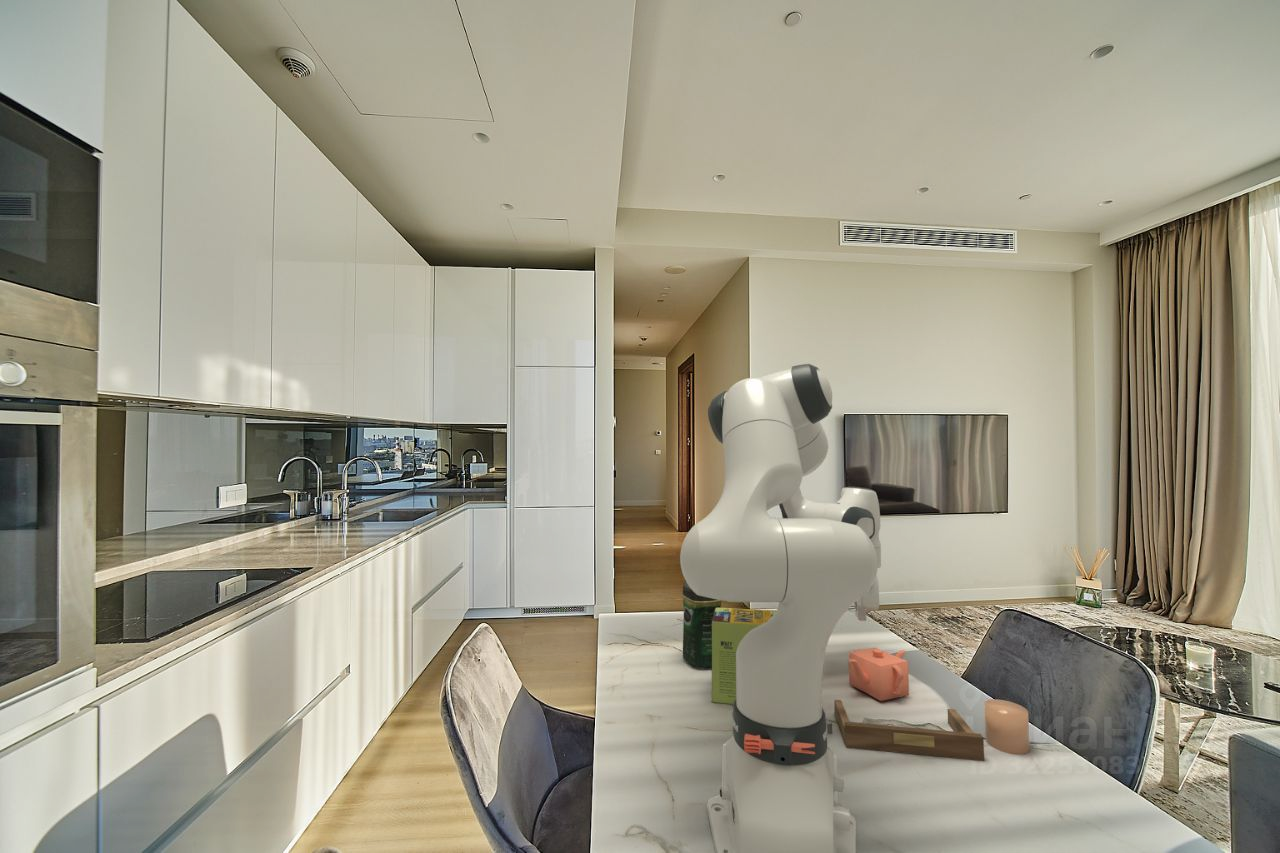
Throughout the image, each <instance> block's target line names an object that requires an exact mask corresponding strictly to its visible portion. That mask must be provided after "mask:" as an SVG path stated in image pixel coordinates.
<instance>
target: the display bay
mask: <svg viewBox="0 0 1280 853" xmlns="http://www.w3.org/2000/svg"><path fill="white" fill-rule="evenodd" d="M833 700H834V701H833V702H834V703H833V704H834V706H833V707H834V712H833V713H834V716H835V719H836V722H837V725H838V728H839V730H840V733H841V735H842V739H843V741H844V744H845V747H846V748H850V749H862V750H870V751H880V752H881V751H882V752H890V753H901V754H911V755H922V756H931V757H932V756H933V757H941V758H952V759H953V758H954V759H962V760H975V761H983V762H984V761H985V746H984V745H985V744H984V743H985V742H984V741H985V740H984V737H983V735H982V734H981V733H976V732H974V731H973V730H972V728H971V727H970V726H969V725H968V723H967V722H966V721H965V719H964V718H963V717H962V716H961V715H960V714H959V713H958V711H957V710H956V709H953V708H947V724H948V725H949V727H950V728H951V729H952V730H944V729H943V730H939V729H930V728H920V727H907V726H897V725H886V724H874V723H864V722H863V723H862V722H852V721H850V719H849V717H848V715H847V711H846V710H845V706H844V704H843V701H842V700H841V699H833Z"/></svg>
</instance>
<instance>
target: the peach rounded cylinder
mask: <svg viewBox="0 0 1280 853" xmlns="http://www.w3.org/2000/svg"><path fill="white" fill-rule="evenodd" d="M983 704H984V729H985V730H984V731H985V742H986V744H987V745H989V746H990V747H992V748H993V749H995V750H998V751H1000V752H1003V753H1005V754H1009V755H1010V754H1011V755H1020V756H1021V755H1022V756H1023V755H1027V754H1029V753H1030V750H1031V749H1030V728H1029V727H1030V726H1029V723H1030V722H1029V711H1028V709H1027V708H1025V707H1024V706H1022V705H1020V704H1018V703H1015V702H1012V701H1009V700H1004V699H992V698H991V699H987V700H985V701H984V703H983Z"/></svg>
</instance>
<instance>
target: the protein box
mask: <svg viewBox="0 0 1280 853" xmlns="http://www.w3.org/2000/svg"><path fill="white" fill-rule="evenodd" d="M775 612H776V610H771V609H769V610H768V609H755V608H734V607H721V608H715V612H714V616H713V619H712V668H711V702H712V703H718V704H719V703H720V704H727V705H733V704H734V701H735V700H736V651H737V648H738V645H739V643H740V641H741V640H742V639H743V637H744V636H745V635H746V634H747V633H748V632H749V631H751V630H752V629H754V628H756V627H758V626H760V625H762V624H764V623H765V622H767V621H768V620H769V619H770V618H771V617H772V616H773V615H774V613H775Z"/></svg>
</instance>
